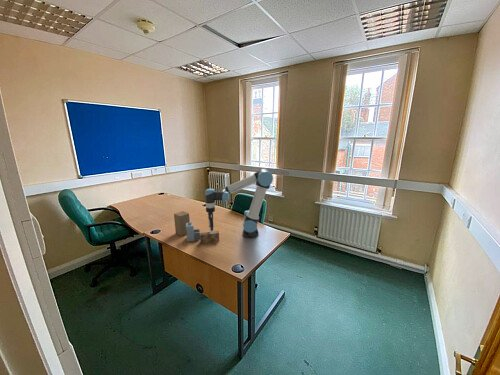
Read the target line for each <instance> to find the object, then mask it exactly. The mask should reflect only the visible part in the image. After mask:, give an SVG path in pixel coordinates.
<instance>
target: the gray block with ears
mask: <svg viewBox="0 0 500 375" xmlns="http://www.w3.org/2000/svg"><path fill="white" fill-rule="evenodd" d="M194 226H195V225H194V222H193V221H192V222H191V221H190V222H188V223H186V231H187V234H186V241H187V242H194V241H200V233H201V232H200V230H201V229H200V228H194Z"/></svg>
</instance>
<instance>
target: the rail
mask: <svg viewBox="0 0 500 375" xmlns="http://www.w3.org/2000/svg"><path fill="white" fill-rule="evenodd" d="M213 232H214V234H210V231H209V232H208V231H206V232H200V240H199V241H200V244H207V243H208V244H209V243H215V242H220V231H218V230H216V231H215V230H213Z"/></svg>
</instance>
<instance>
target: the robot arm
mask: <svg viewBox="0 0 500 375" xmlns="http://www.w3.org/2000/svg"><path fill="white" fill-rule="evenodd" d="M273 181H274V176H273V173H272V172H271V171H270V169H268V168H261V169H260V170H258V171H255V172H254V173H253V174H251V175H250V176H248V177H245V178H243V179H241V180H239V181H236V182H234V183H231V184H229V185H227V186H222V187H221V189H220V190H219V191H215V189H214V188H207V189H205V194H204V197H205V198H204V199H205V204H204V205H205V212H206V213H207V215H208V216H207V218H208V228H209V232H210V234H214V213H215V211H216V205H215V204H216V201H220V202H221V201H224V202H225V201H229V199H230V195H231V194H234V193H236V192H238V191H240V190H243V189H245V188H248V187H250V186H253V185H254V184H255V186H256V188H255V191H254V194H253V198H252V201H251V204H250V206H249V209H248V210H245V211H243V223H242V232H241V233H242V237H244V238H249V239H253V238H257V237H258V236H259V234H260V233H259V228H258V222H259V221H260V216H259V214H260V211H261V209H262V205H263V203H264V200H265V197H266V193H267V191H268V190H269V189H270V188H271V184H272V182H273Z"/></svg>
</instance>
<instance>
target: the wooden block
mask: <svg viewBox="0 0 500 375" xmlns="http://www.w3.org/2000/svg"><path fill="white" fill-rule="evenodd" d="M173 219H174V227H175V234H176V235H178V236H180V237H184V236H187V231H186V223H188V222H191V221H190V213H189V212H187V211H184V210H183V211H179V212H175V213H173Z"/></svg>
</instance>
